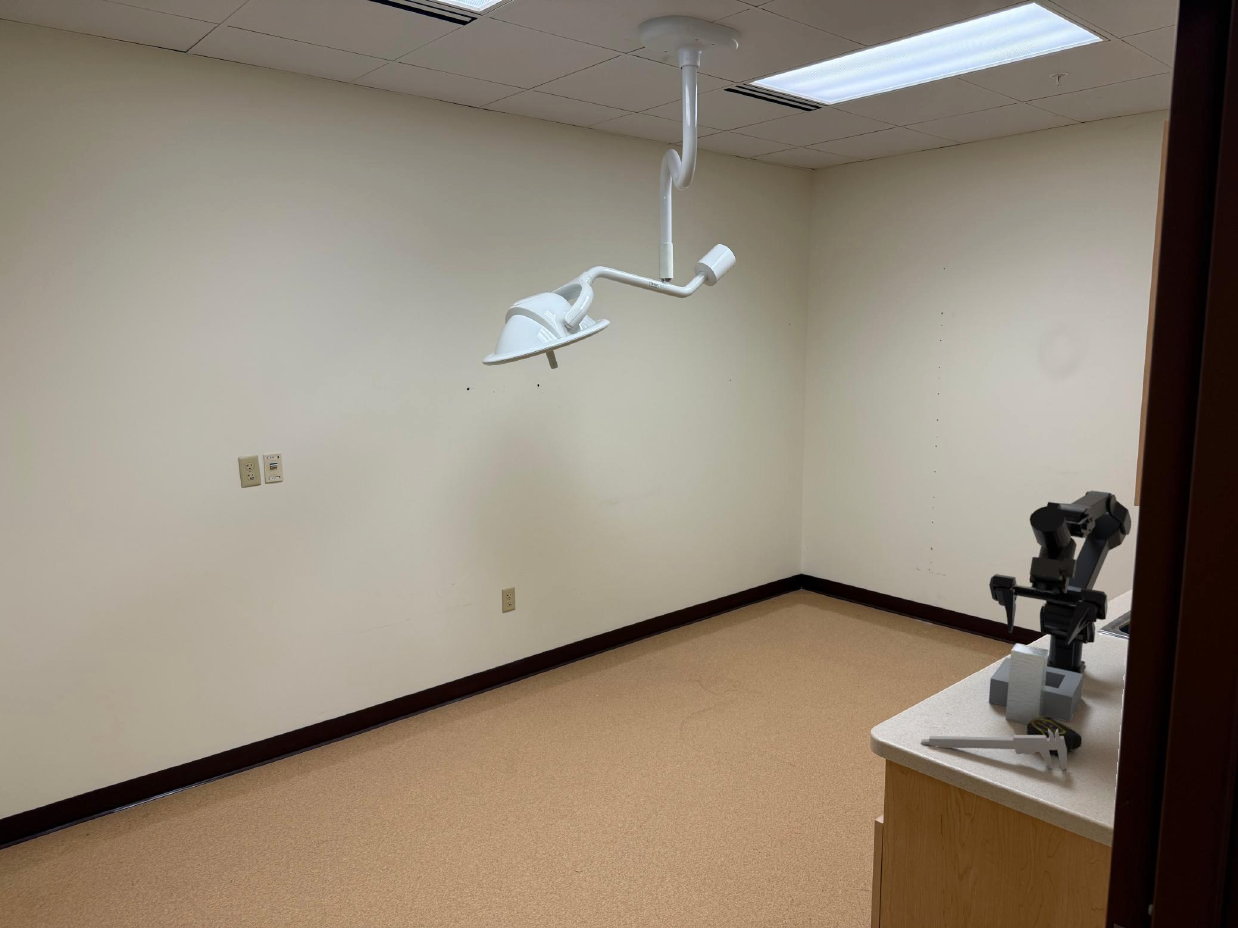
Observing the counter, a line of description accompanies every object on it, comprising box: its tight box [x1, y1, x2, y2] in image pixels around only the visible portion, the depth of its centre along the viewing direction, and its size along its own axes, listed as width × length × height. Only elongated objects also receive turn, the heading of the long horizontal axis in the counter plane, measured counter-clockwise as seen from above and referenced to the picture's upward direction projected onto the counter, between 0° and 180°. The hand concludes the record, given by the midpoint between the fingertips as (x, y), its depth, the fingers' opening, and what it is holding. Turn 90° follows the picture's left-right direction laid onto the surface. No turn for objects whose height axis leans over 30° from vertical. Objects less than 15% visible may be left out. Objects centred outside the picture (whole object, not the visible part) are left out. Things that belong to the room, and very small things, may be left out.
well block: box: [988, 657, 1084, 723], centre depth 152 cm, size 12×13×4 cm
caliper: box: [920, 729, 1068, 771], centre depth 132 cm, size 21×1×6 cm, turn 66°
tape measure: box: [1026, 716, 1083, 754], centre depth 135 cm, size 7×7×4 cm
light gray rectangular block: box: [1005, 642, 1049, 726], centre depth 144 cm, size 4×5×12 cm
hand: (1037, 637), depth 148 cm, fingers open, 9 cm apart
